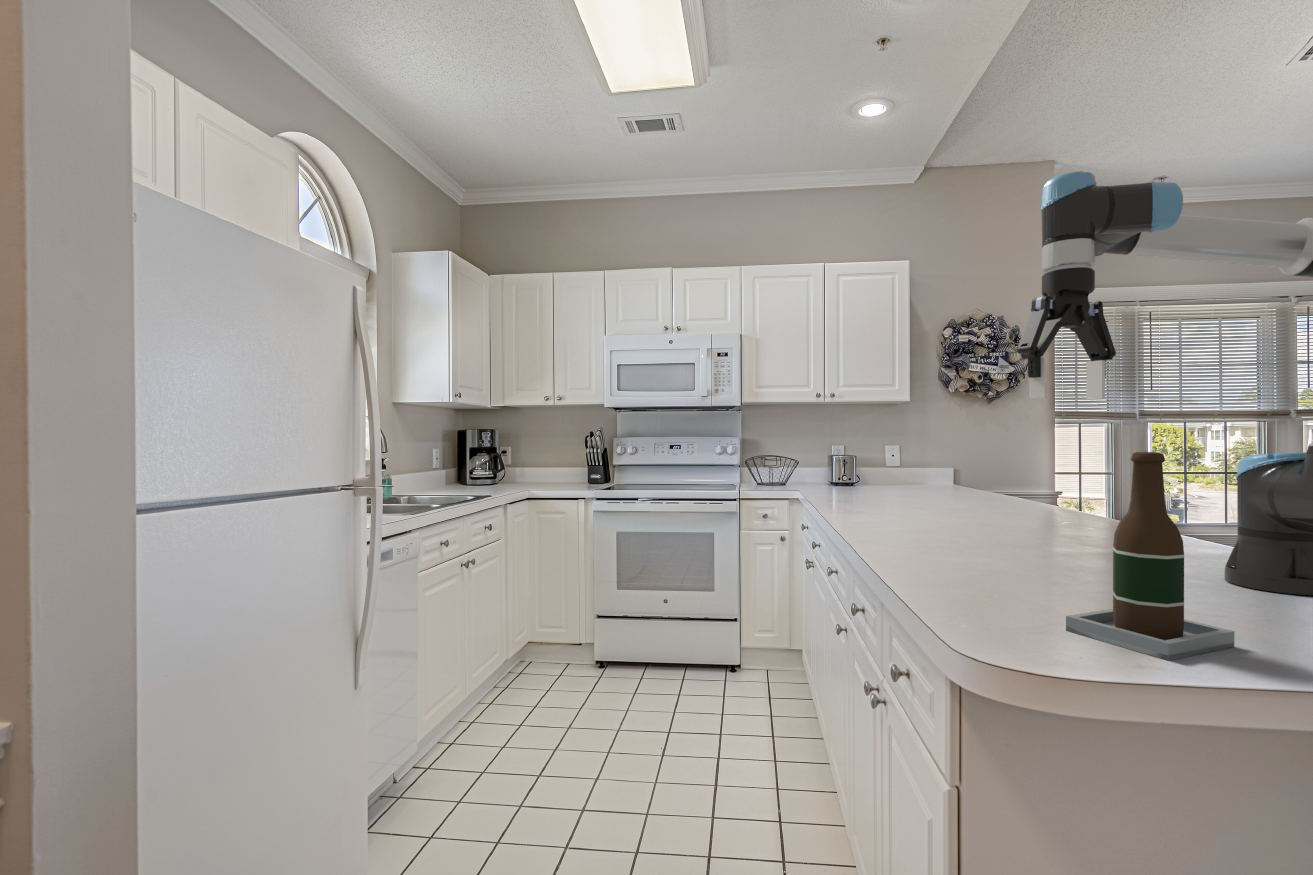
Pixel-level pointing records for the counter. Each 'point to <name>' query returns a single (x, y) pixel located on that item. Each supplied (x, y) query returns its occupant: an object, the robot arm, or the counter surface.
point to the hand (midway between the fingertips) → (1067, 399)
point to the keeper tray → (1192, 642)
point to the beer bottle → (1148, 558)
